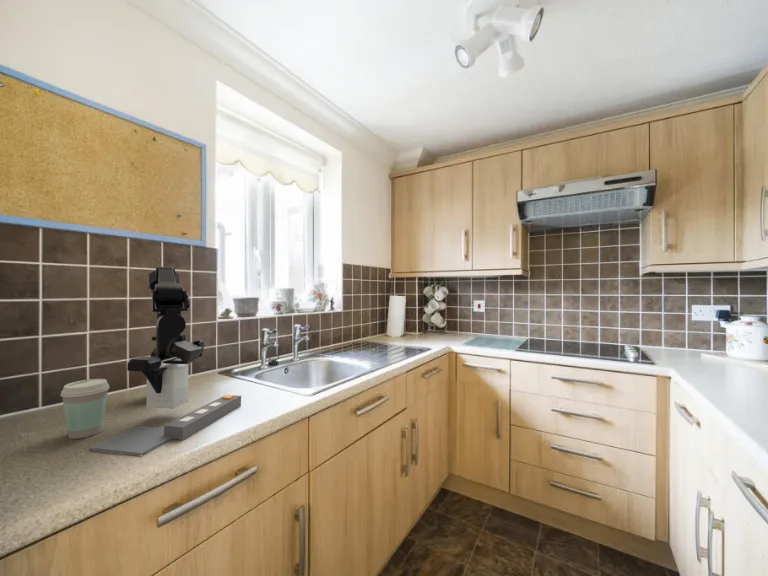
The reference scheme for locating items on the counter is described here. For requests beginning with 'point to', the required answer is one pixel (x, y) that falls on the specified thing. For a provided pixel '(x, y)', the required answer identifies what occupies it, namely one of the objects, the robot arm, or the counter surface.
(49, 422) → the counter surface
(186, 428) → the power strip
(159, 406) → the small box
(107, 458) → the counter surface
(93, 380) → the coffee cup
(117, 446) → the rubber mat
